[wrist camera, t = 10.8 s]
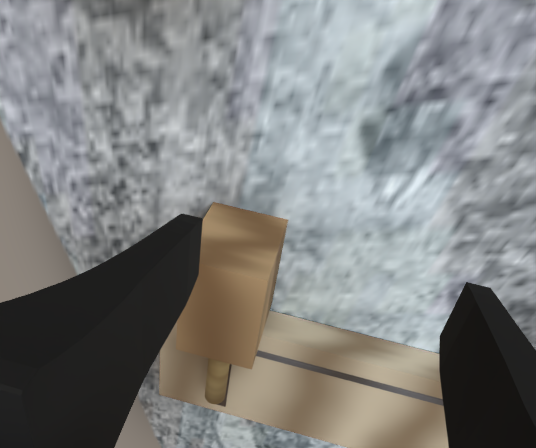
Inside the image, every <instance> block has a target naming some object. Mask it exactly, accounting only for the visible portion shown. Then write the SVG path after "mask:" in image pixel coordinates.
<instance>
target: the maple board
mask: <svg viewBox="0 0 536 448" xmlns="http://www.w3.org/2000/svg"><path fill="white" fill-rule="evenodd" d="M176 336H177V322H176V324H175V326H174V327H173V329H172V331H171V332H170V334H169V336H168V338H167V339H166V341H165V343H164V345H163V346H162V348H161V350H160V382H159V395H162V396H166V397H170V398H173V399H177V400H180V401H184V402H187V403H191V404H194V405H198V406H202V407H205V408H209V409H212V410H216V411H219V412H223V413H227V414H230V415H234V416H237V417H241V418H244V419H248V420H252V421H255V422H259V423H262V424H266V425H269V426H273V427H277V428H280V429H284V430H287V431H291V432H294V433H298V434H302V435H305V436H309V437H312V438H316V439H319V440H323V441H327V442H330V443H334V444H337V445H341V446H344V447H348V448H449V445H448V437H447V429H446V421H445V414H444V406H443V398H442V389H441V381H440V372H439V354H437V353H433V352H430V351H426V350H422V349H418V348H414V347H410V346H406V345H402V344H398V343H394V342H391V341H387V340H383V339H379V338H375V337H371V336H367V335H363V334H359V333H356V332H352V331H348V330H344V329H340V328H336V327H332V326H328V325H324V324H320V323H317V322H313V321H309V320H305V319H301V318H297V317H293V316H289V315H285V314H281V313H278V312H274V311H269V314H268V317H267V321H266V324H265V327H264V331H263V334H262V337H261V341H260V344H259V347H258V351H257V354H256V357H255V361H254V364H253V367H252V370H251V369H248V368H244V367H240V366H236V365H233V364H230V366H229V373H228V380H227V387H226V394H225V399H224V400H223V401H222V402H221V403H219V404H211V403H209V402H208V401H207V400H206V399H205V387H206V378H207V368H208V358H206V357H203V356H199V355H195V354H191V353H188V352H184V351H180V350H177V349H176Z"/></svg>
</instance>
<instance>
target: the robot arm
mask: <svg viewBox="0 0 536 448" xmlns="http://www.w3.org/2000/svg"><path fill="white" fill-rule="evenodd" d="M202 222H203V219H202V218H198V217H194V216H190V215H186V214H180V215H179V216H177V217H176V218H174V219H172V220H171V221H169V222H168V223H167V224H165V225H164V226H162V227H161V228H159V229H158V230H156V231H155V232H153V233H152V234H150V235H149V236H147V237H146V238H144V239H142V240H141V241H139V242H138V243H136V244H135V245H133V246H131V247H130V248H128V249H127V250H125V251H123V252H122V253H120V254H118V255H116V256H114V257H113V258H111V259H109V260H107V261H106V262H104V263H102V264H100V265H98V266H96V267H94V268H92V269H90V270H88V271H86V272H84V273H82V274H79V275H77V276H75V277H73V278H70V279H68V280H66V281H63V282H61V283H58V284H56V285H53V286H50V287H47V288H44V289H42V290H39V291H36V292H34V293H31V294H28V295H25V296H22V297H18V298H15V299H12V300H9V301H5V302H2V303H0V448H114V447H115V444H116V442H117V440H118V437H119V435H120V433H121V430H122V428H123V426H124V423H125V421H126V419H127V416H128V414H129V411H130V409H131V407H132V405H133V403H134V400H135V398H136V396H137V394H138V391H139V389H140V387H141V385H142V382H143V380H144V378H145V377H146V375H147V373H148V371H149V369H150V367H151V365H152V364H153V362H154V360H155V358H156V357H157V355H158V353H159V351H160V350H161V348H162V346H163V345H164V343H165V341H166V339H167V338H168V336H169V334H170V332H171V331H172V329H173V327H174V326H175V324H176V322H177V320H178V319H179V317H180V315H181V313H182V311H183V310H184V308H185V306H186V304H187V302H188V300H189V297H190V295H191V292H192V290H193V288H194V285H195V283H196V280H197V278H198V275H199V263H200V250H201V236H202ZM439 372H440V381H441V389H442V398H443V406H444V414H445V421H446V429H447V437H448V445H449V448H536V350H535V349H534V347H533V346H532V345H531V343H530V342H529V341H528V339H527V338H526V337H525V335H524V334H523V333H522V331H521V330H520V328H519V327H518V326H517V324H516V323H515V321H514V320H513V319H512V317H511V316H510V314H509V313H508V312H507V310H506V309H505V307H504V306H503V305H502V303H501V302H500V300H499V299H498V298H497V296H496V295H495V293H494V292H493V291H492V290H491V288H488V287H484V286H480V285H476V284H472V283H468V282H466V284H465V286H464V288H463V290H462V292H461V294H460V296H459V298H458V300H457V302H456V304H455V307H454V309H453V311H452V313H451V315H450V317H449V319H448V321H447V323H446V325H445V327H444V329H443V331H442V333H441V335H440V352H439Z"/></svg>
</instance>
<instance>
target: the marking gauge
mask: <svg viewBox="0 0 536 448" xmlns="http://www.w3.org/2000/svg"><path fill="white" fill-rule="evenodd" d="M287 223H288V220H286V219H282V218H278V217H274V216H270V215H265V214H261V213H257V212H253V211H249V210H244V209H240V208H236V207H232V206H227V205H223V204H219V203H215V202H213V204H212V205H211V207H210V209H209V211H208V212H207V214H206V216H205V217H204V219H203V222H202V236H201V250H200V263H199V275H198V278H197V280H196V283H195V285H194V288H193V290H192V292H191V295H190V297H189V300H188V302H187V304H186V306H185V308H184V310H183V311H182V313H181V315H180V317H179V319H178V320H177V336H176V349H177V350H180V351H184V352H188V353H191V354H195V355H199V356H203V357H206V358H208V368H207V378H206V387H205V399H206V400H207V401H208V402H209V403H211V404H219V403H221V402H222V401H223V400H224V399H225V394H226V387H227V380H228V373H229V366H230V364H233V365H236V366H240V367H244V368H248V369H251V370H252V367H253V364H254V361H255V357H256V354H257V351H258V347H259V344H260V341H261V337H262V334H263V331H264V327H265V324H266V321H267V317H268V314H269V311H270V307H271V304H272V299H273V294H274V289H275V284H276V279H277V274H278V269H279V263H280V258H281V253H282V248H283V243H284V238H285V233H286V228H287Z"/></svg>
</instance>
